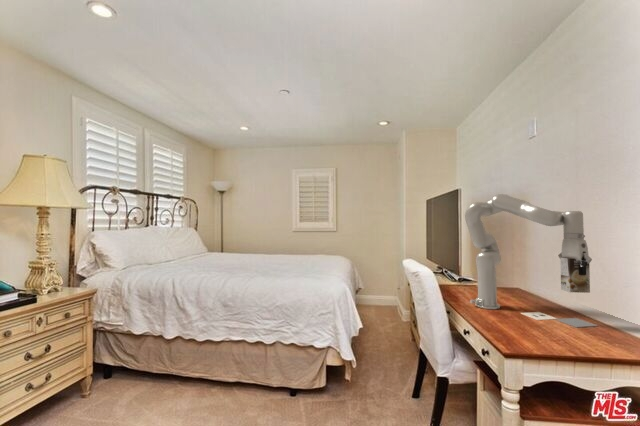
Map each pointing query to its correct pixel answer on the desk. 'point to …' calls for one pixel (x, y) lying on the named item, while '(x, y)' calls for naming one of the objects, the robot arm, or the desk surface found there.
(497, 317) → the desk surface
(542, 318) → the card
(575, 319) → the mat
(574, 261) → the coffee box
